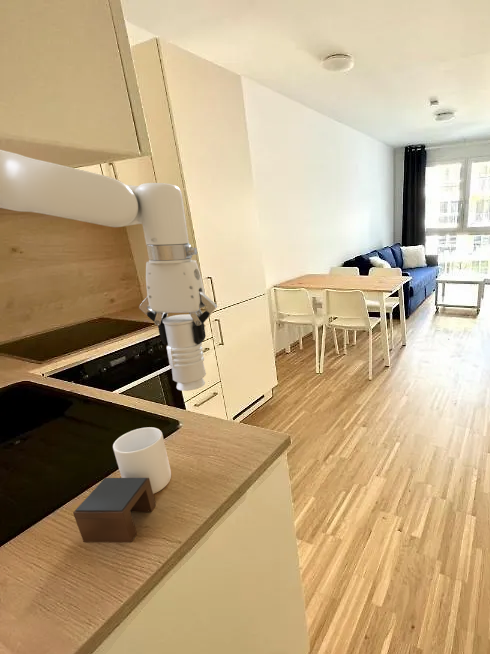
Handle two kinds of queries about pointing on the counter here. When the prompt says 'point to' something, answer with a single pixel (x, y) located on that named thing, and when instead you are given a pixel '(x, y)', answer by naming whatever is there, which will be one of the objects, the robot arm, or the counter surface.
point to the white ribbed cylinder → (184, 352)
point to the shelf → (114, 509)
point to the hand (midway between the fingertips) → (183, 341)
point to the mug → (143, 457)
